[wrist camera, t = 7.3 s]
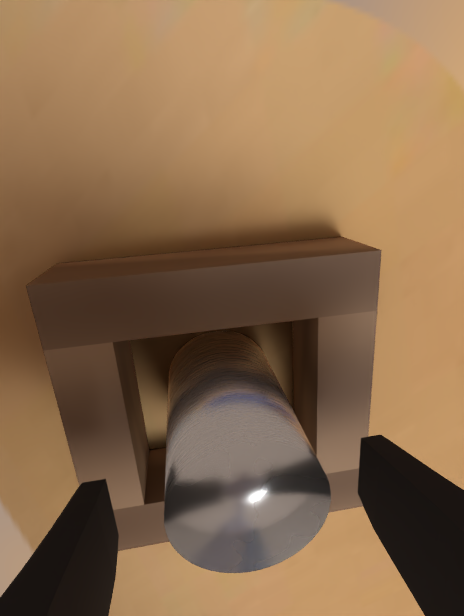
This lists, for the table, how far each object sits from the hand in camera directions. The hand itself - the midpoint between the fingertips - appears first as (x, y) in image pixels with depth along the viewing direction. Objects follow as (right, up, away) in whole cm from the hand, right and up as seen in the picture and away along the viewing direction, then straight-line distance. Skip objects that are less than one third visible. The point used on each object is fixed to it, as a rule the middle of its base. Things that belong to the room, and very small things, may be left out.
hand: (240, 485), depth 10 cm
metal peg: (-1, +2, +6) cm, 6 cm away
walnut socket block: (-1, +2, +6) cm, 6 cm away
